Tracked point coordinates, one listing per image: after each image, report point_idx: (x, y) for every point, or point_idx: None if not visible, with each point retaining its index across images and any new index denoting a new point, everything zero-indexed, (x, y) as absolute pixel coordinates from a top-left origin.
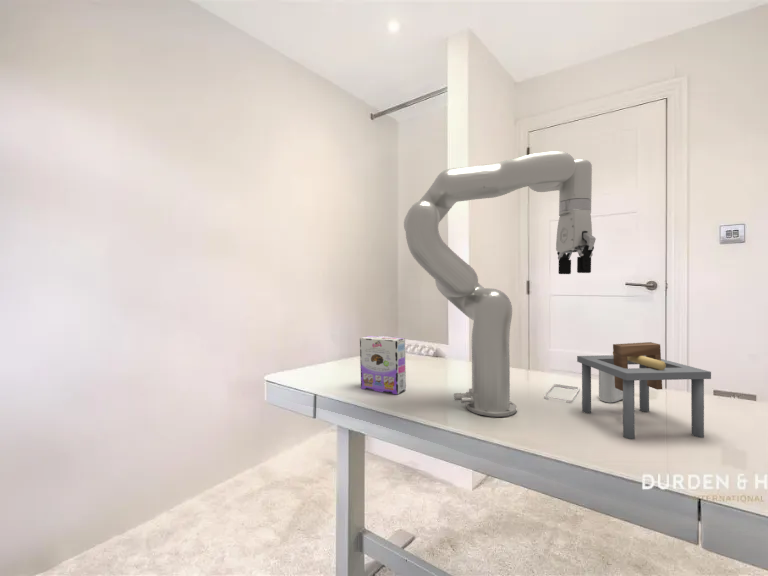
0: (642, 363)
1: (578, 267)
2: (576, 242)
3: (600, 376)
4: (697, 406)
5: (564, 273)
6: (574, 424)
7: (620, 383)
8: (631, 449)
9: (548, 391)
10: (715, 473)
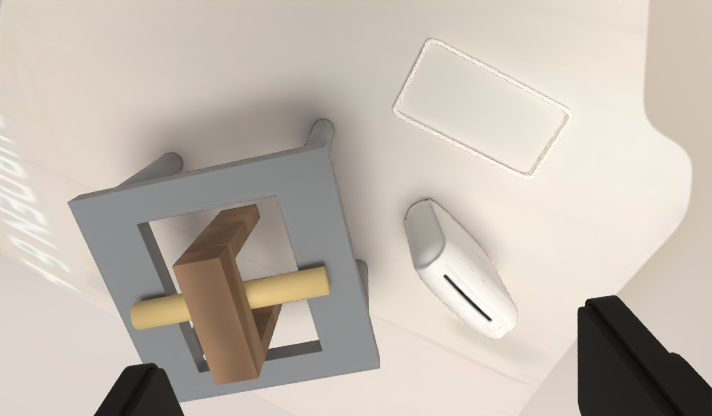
0: None
1: (102, 407)
2: None
3: (436, 226)
4: (193, 326)
5: (578, 349)
6: (220, 65)
7: (226, 215)
8: (106, 140)
9: (485, 68)
10: (52, 233)
